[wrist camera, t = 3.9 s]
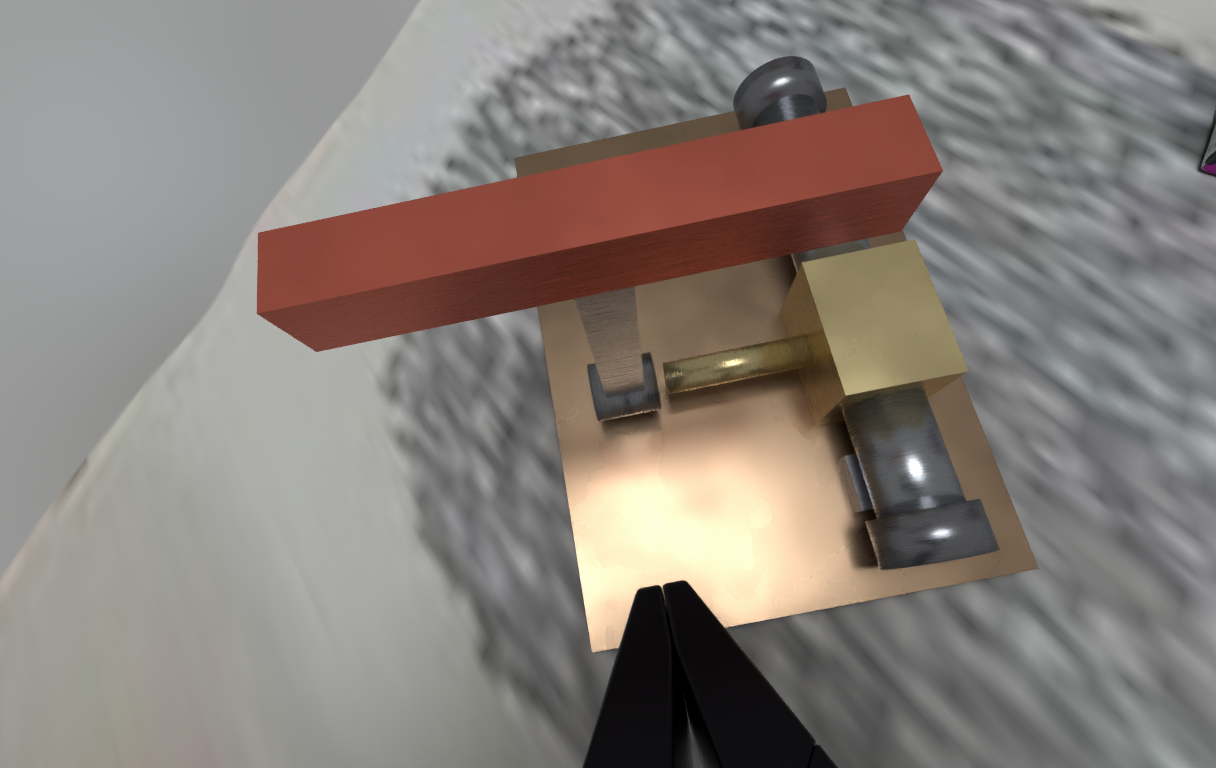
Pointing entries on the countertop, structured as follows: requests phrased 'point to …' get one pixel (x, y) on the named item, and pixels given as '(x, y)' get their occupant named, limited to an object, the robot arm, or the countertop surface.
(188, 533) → the countertop surface
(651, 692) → the robot arm
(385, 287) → the valve lever
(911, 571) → the valve on board
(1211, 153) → the candy bar box
